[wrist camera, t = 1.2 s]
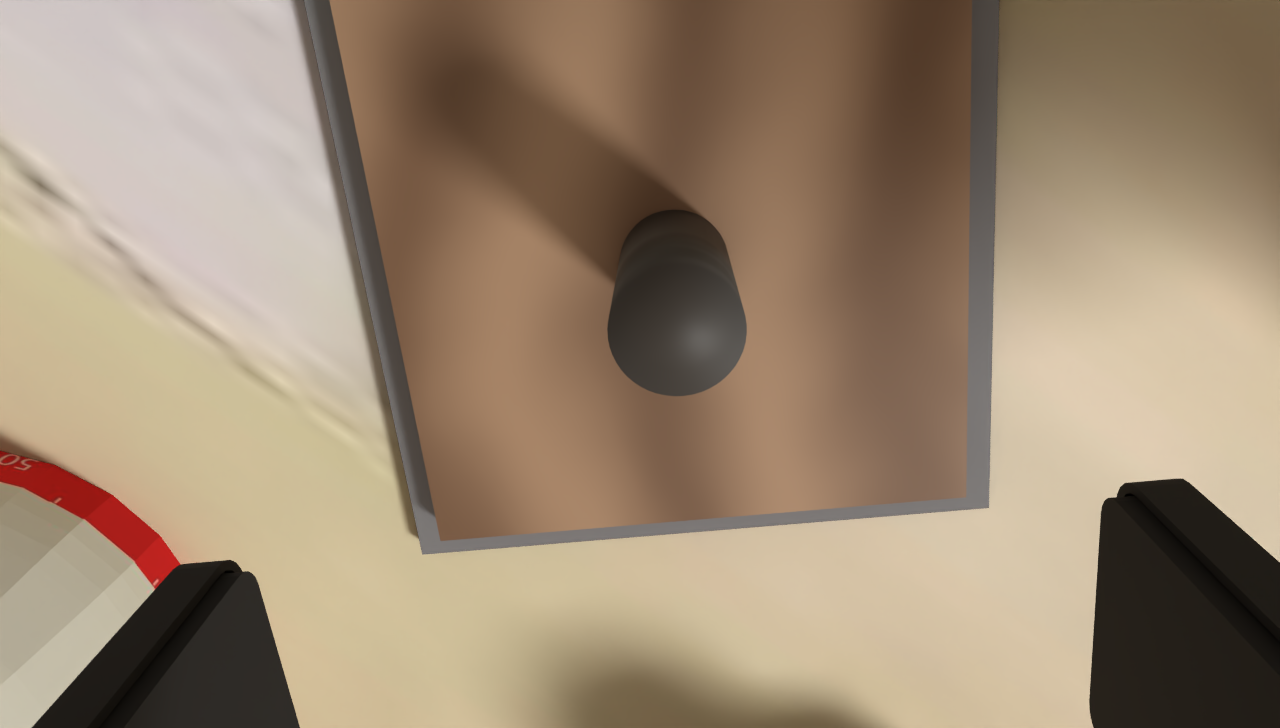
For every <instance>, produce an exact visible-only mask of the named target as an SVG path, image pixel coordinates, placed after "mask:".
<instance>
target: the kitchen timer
mask: <svg viewBox="0 0 1280 728" xmlns="http://www.w3.org/2000/svg"><path fill="white" fill-rule="evenodd" d="M178 565H181V564H180V563H179V562H178V560H177V559H176V557H175V556H174V555H173V553H172V552H171V550H170V549H169V548H168V546H167V545H166V543H165V542H164V541H163V539H162V538H161V536H160V535H159V534H157V533H156V532H155V531H154V530H153V529H152V528H150V527H149V526H148V525H147V524H146V523H145V522H143V521H142V520H141V519H140V518H139V517H137V516H136V515H135V514H134V513H133V512H132V511H130V510H129V509H128V508H127V507H126V506H125V505H123V504H122V503H121V502H120V501H119V500H118V499H116V498H115V497H114V496H113V495H111V494H109V493H107V492H106V491H104V490H102V489H100V488H98V487H96V486H94V485H92V484H90V483H88V482H86V481H84V480H83V479H81V478H79V477H77V476H75V475H73V474H71V473H69V472H67V471H65V470H63V469H61V468H60V467H58V466H56V465H53V464H49V463H45V462H41V461H37V460H33V459H30V458H26V457H22V456H18V455H14V454H10V453H6V452H2V451H0V728H32V727H33V725H34V724H35V723H36V722H37V721H38V720H39V719H40V718H41V716H42V715H43V714H44V713H45V712H46V711H47V710H48V709H49V707H50V706H51V705H52V704H53V703H54V702H55V701H56V700H57V699H58V697H59V696H60V695H61V694H62V693H63V692H64V691H65V690H66V688H67V687H68V686H69V685H70V684H71V683H72V682H73V681H74V680H75V678H76V677H77V676H78V675H79V674H80V673H81V672H82V671H83V669H84V668H85V667H86V666H87V665H88V664H89V663H90V662H91V660H92V659H93V658H94V657H95V656H96V655H97V654H98V653H99V652H100V650H101V649H102V648H103V647H104V646H105V645H106V644H107V643H108V641H109V640H110V639H111V638H112V637H113V636H114V635H115V634H116V632H117V631H118V630H119V629H120V628H121V627H122V626H123V625H124V624H125V622H126V621H127V620H128V619H129V618H130V617H131V616H132V615H133V613H134V612H135V611H136V610H137V609H138V608H139V607H140V606H141V605H142V603H143V602H144V601H145V600H146V599H147V598H148V597H149V596H150V594H151V593H152V592H153V591H154V590H155V589H156V588H157V587H158V585H159V584H160V583H161V582H162V581H163V580H164V579H165V578H166V577H167V575H168V574H169V573H170V572H171V571H172V570H173V569H174V568H176V567H177V566H178Z"/></svg>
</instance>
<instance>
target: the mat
mask: <svg viewBox="0 0 1280 728" xmlns="http://www.w3.org/2000/svg"><path fill="white" fill-rule="evenodd" d="M304 3H305V8H306V12H307V17H308V22H309V26H310V31H311V36H312V40H313V45H314V50H315V54H316V59H317V64H318V68H319V73H320V78H321V83H322V87H323V92H324V97H325V101H326V106H327V111H328V115H329V120H330V125H331V129H332V134H333V139H334V143H335V148H336V153H337V157H338V162H339V167H340V171H341V176H342V181H343V185H344V190H345V195H346V199H347V204H348V209H349V213H350V218H351V223H352V228H353V232H354V237H355V242H356V246H357V251H358V256H359V260H360V265H361V270H362V274H363V279H364V284H365V288H366V293H367V298H368V302H369V307H370V312H371V316H372V321H373V326H374V330H375V335H376V340H377V344H378V349H379V354H380V358H381V363H382V368H383V372H384V377H385V382H386V387H387V391H388V396H389V401H390V405H391V410H392V415H393V419H394V424H395V429H396V433H397V438H398V443H399V447H400V452H401V457H402V461H403V466H404V471H405V475H406V480H407V485H408V489H409V494H410V499H411V503H412V508H413V513H414V517H415V522H416V527H417V532H418V536H419V541H420V546H421V550H422V555H423V554H435V553H447V552H459V551H471V550H483V549H496V548H508V547H520V546H532V545H544V544H556V543H568V542H581V541H593V540H605V539H617V538H629V537H641V536H653V535H666V534H678V533H690V532H702V531H714V530H726V529H738V528H750V527H763V526H775V525H787V524H799V523H811V522H823V521H835V520H848V519H860V518H872V517H884V516H896V515H908V514H920V513H932V512H945V511H957V510H969V509H981V508H989V477H990V428H991V380H992V331H993V282H994V234H995V185H996V137H997V88H998V39H999V0H972V39H971V128H970V216H969V304H968V392H967V480H966V497H965V498H953V499H941V500H929V501H917V502H905V503H892V504H880V505H868V506H856V507H844V508H832V509H820V510H808V511H796V512H784V513H772V514H760V515H748V516H736V517H724V518H712V519H700V520H688V521H676V522H664V523H652V524H640V525H628V526H616V527H604V528H592V529H580V530H568V531H556V532H544V533H532V534H520V535H508V536H496V537H484V538H472V539H460V540H448V541H440V537H439V532H438V527H437V522H436V517H435V512H434V507H433V503H432V498H431V493H430V488H429V483H428V478H427V473H426V468H425V464H424V459H423V454H422V449H421V444H420V439H419V434H418V429H417V425H416V420H415V415H414V410H413V405H412V400H411V395H410V390H409V386H408V381H407V376H406V371H405V366H404V361H403V356H402V351H401V347H400V342H399V337H398V332H397V327H396V322H395V317H394V312H393V308H392V303H391V298H390V293H389V288H388V283H387V278H386V273H385V269H384V264H383V259H382V254H381V249H380V244H379V239H378V234H377V230H376V225H375V220H374V215H373V210H372V205H371V200H370V196H369V191H368V186H367V181H366V176H365V171H364V166H363V161H362V157H361V152H360V147H359V142H358V137H357V132H356V127H355V122H354V118H353V113H352V108H351V103H350V98H349V93H348V88H347V83H346V79H345V74H344V69H343V64H342V59H341V54H340V49H339V44H338V40H337V35H336V30H335V25H334V20H333V15H332V10H331V5H330V1H329V0H304Z"/></svg>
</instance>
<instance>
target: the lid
mask: <svg viewBox="0 0 1280 728" xmlns="http://www.w3.org/2000/svg"><path fill="white" fill-rule="evenodd" d="M329 1H330V5H331V10H332V15H333V20H334V25H335V30H336V35H337V40H338V44H339V49H340V54H341V59H342V64H343V69H344V74H345V79H346V83H347V88H348V93H349V98H350V103H351V108H352V113H353V118H354V122H355V127H356V132H357V137H358V142H359V147H360V152H361V157H362V161H363V166H364V171H365V176H366V181H367V186H368V191H369V196H370V200H371V205H372V210H373V215H374V220H375V225H376V230H377V234H378V239H379V244H380V249H381V254H382V259H383V264H384V269H385V273H386V278H387V283H388V288H389V293H390V298H391V303H392V308H393V312H394V317H395V322H396V327H397V332H398V337H399V342H400V347H401V351H402V356H403V361H404V366H405V371H406V376H407V381H408V386H409V390H410V395H411V400H412V405H413V410H414V415H415V420H416V425H417V429H418V434H419V439H420V444H421V449H422V454H423V459H424V464H425V468H426V473H427V478H428V483H429V488H430V493H431V498H432V503H433V507H434V512H435V517H436V522H437V527H438V532H439V537H440V541H448V540H460V539H472V538H484V537H496V536H508V535H520V534H532V533H544V532H556V531H568V530H580V529H592V528H604V527H616V526H628V525H640V524H652V523H664V522H676V521H688V520H700V519H712V518H724V517H736V516H748V515H760V514H772V513H784V512H796V511H808V510H820V509H832V508H844V507H856V506H868V505H880V504H892V503H905V502H917V501H929V500H941V499H953V498H965V497H966V480H967V392H968V304H969V216H970V128H971V39H972V0H329Z"/></svg>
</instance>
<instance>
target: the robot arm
mask: <svg viewBox="0 0 1280 728" xmlns="http://www.w3.org/2000/svg"><path fill="white" fill-rule="evenodd" d="M1089 702H1090V714H1091V719H1092V724H1093V727H1094V728H1280V562H1278V561H1277V560H1276V559H1275V558H1274V557H1273V556H1272V555H1270V554H1269V553H1268V552H1267V551H1266V550H1265V549H1264V548H1263V547H1261V546H1260V545H1259V544H1258V543H1257V542H1256V541H1255V540H1253V539H1252V538H1251V537H1250V536H1249V535H1248V534H1247V533H1246V532H1244V531H1243V530H1242V529H1241V528H1240V527H1239V526H1238V525H1236V524H1235V523H1234V522H1233V521H1232V520H1231V519H1230V518H1229V517H1227V516H1226V515H1225V514H1224V513H1223V512H1222V511H1221V510H1219V509H1218V508H1217V507H1216V506H1215V505H1214V504H1213V503H1212V502H1210V501H1209V500H1208V499H1207V498H1206V497H1205V496H1204V495H1202V494H1201V493H1200V492H1199V491H1198V490H1197V489H1196V488H1195V487H1193V486H1192V485H1191V484H1190V483H1189V482H1187V481H1185V480H1184V479H1167V480H1156V481H1144V482H1133V483H1125V484H1123V485H1122V486H1121V487H1120V489H1119V491H1118V494H1117V497H1116V498H1107V499H1106V500H1105V501H1104V503H1103V506H1102V511H1101V523H1100V539H1099V556H1098V572H1097V588H1096V604H1095V620H1094V636H1093V652H1092V668H1091V684H1090V700H1089ZM32 728H300V727H299V723H298V720H297V716H296V713H295V709H294V706H293V702H292V699H291V696H290V692H289V689H288V685H287V682H286V678H285V675H284V671H283V668H282V664H281V661H280V658H279V654H278V651H277V647H276V644H275V640H274V637H273V633H272V630H271V626H270V623H269V620H268V616H267V613H266V609H265V606H264V602H263V599H262V595H261V592H260V588H259V585H258V582H257V580H256V578H255V576H254V575H253V574H252V573H250V572H248V571H247V572H242V570H241V568H240V567H239V566H238V564H237V563H236V562H234V561H231V560H225V561H214V562H202V563H191V564H182V565H178V566H177V567H176V568H174V569H173V570H172V571H171V572H170V573H169V574H168V575H167V577H166V578H165V579H164V580H163V581H162V582H161V583H160V584H159V585H158V587H157V588H156V589H155V590H154V591H153V592H152V593H151V594H150V596H149V597H148V598H147V599H146V600H145V601H144V602H143V603H142V605H141V606H140V607H139V608H138V609H137V610H136V611H135V612H134V613H133V615H132V616H131V617H130V618H129V619H128V620H127V621H126V622H125V624H124V625H123V626H122V627H121V628H120V629H119V630H118V631H117V632H116V634H115V635H114V636H113V637H112V638H111V639H110V640H109V641H108V643H107V644H106V645H105V646H104V647H103V648H102V649H101V650H100V652H99V653H98V654H97V655H96V656H95V657H94V658H93V659H92V660H91V662H90V663H89V664H88V665H87V666H86V667H85V668H84V669H83V671H82V672H81V673H80V674H79V675H78V676H77V677H76V678H75V680H74V681H73V682H72V683H71V684H70V685H69V686H68V687H67V688H66V690H65V691H64V692H63V693H62V694H61V695H60V696H59V697H58V699H57V700H56V701H55V702H54V703H53V704H52V705H51V706H50V707H49V709H48V710H47V711H46V712H45V713H44V714H43V715H42V716H41V718H40V719H39V720H38V721H37V722H36V723H35V724H34V725H33V727H32Z"/></svg>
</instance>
